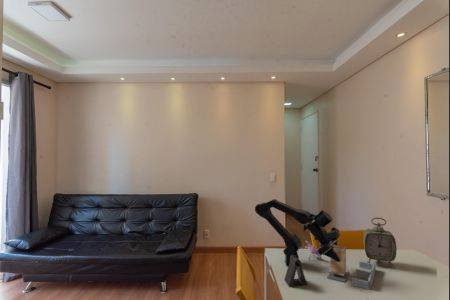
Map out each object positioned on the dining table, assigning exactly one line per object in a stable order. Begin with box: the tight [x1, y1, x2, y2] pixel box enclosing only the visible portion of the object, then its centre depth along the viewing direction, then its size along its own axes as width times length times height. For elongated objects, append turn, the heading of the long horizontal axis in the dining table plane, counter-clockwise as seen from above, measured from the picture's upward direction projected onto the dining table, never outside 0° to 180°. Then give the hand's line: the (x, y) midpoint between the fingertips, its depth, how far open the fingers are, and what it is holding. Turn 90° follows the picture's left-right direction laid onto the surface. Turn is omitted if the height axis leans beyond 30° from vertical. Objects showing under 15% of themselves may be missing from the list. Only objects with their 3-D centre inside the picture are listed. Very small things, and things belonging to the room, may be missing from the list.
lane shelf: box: [351, 260, 377, 290], centre depth 127 cm, size 7×22×4 cm, turn 145°
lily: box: [304, 239, 322, 260], centre depth 149 cm, size 12×12×10 cm
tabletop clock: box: [362, 217, 397, 268], centre depth 142 cm, size 14×9×25 cm, turn 68°
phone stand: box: [284, 255, 309, 288], centre depth 123 cm, size 9×6×12 cm, turn 97°
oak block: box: [329, 245, 347, 276], centre depth 129 cm, size 6×6×12 cm
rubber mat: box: [326, 271, 350, 283], centre depth 129 cm, size 8×11×1 cm
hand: (341, 259), depth 128 cm, fingers closed on oak block, 6 cm apart
